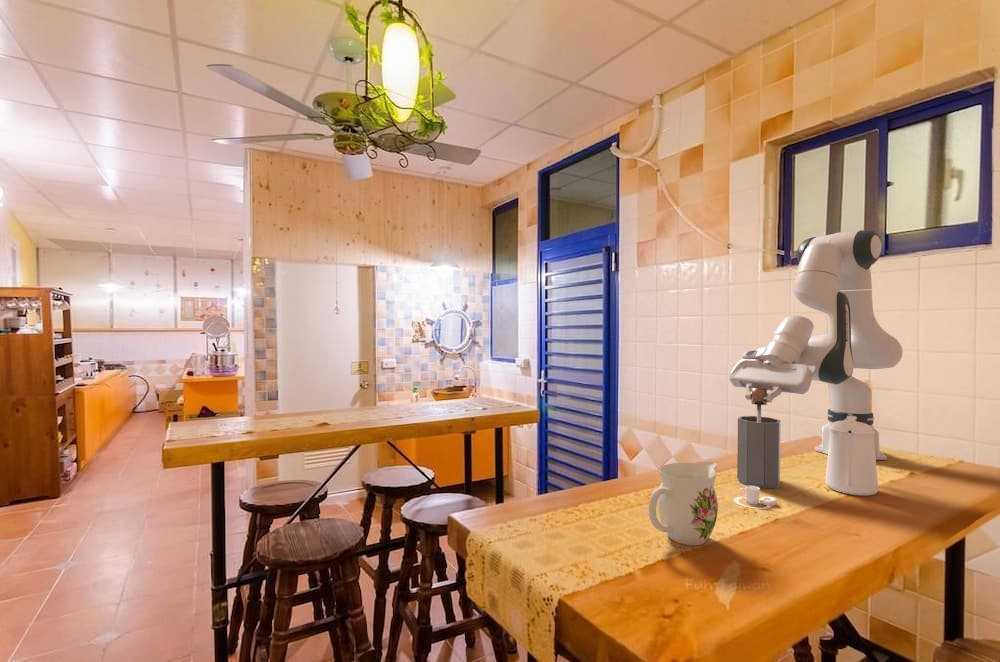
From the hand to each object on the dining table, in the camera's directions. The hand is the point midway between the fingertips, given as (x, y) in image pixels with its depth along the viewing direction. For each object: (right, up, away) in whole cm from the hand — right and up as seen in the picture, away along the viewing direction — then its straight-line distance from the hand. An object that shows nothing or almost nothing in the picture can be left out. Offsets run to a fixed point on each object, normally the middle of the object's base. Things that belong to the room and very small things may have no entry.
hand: (757, 399), depth 129 cm
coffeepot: (+21, -22, -5) cm, 31 cm away
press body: (+2, -22, +2) cm, 22 cm away
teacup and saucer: (-8, -23, -17) cm, 30 cm away
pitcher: (-32, -23, -34) cm, 52 cm away
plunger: (+1, -21, +1) cm, 21 cm away
